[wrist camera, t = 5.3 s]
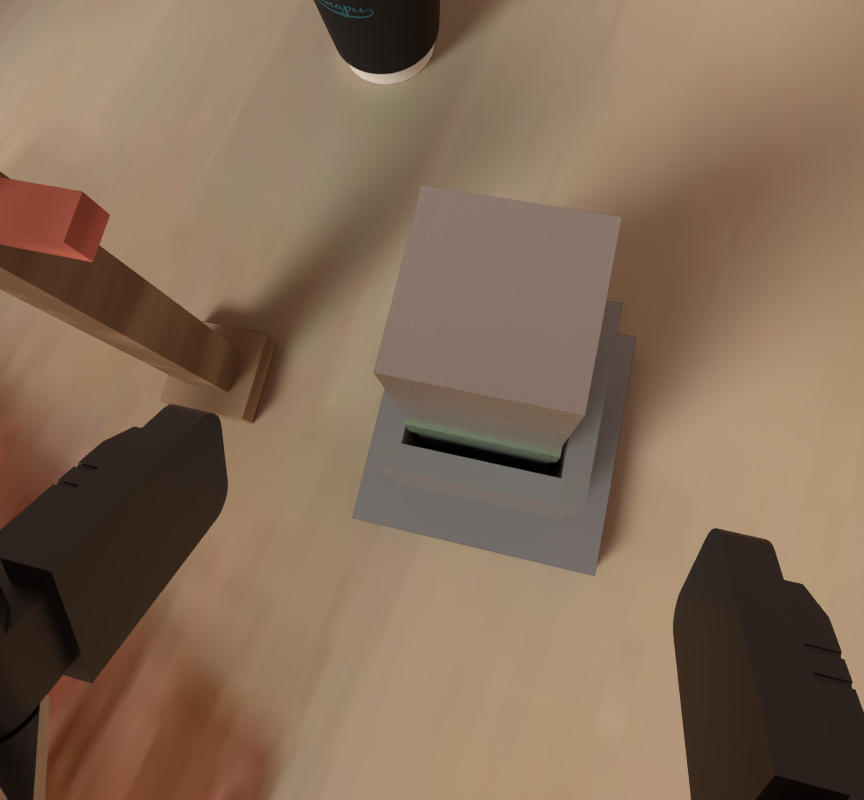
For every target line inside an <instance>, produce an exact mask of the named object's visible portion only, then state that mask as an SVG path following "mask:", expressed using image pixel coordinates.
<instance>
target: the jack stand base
mask: <svg viewBox="0 0 864 800" xmlns="http://www.w3.org/2000/svg"><path fill="white" fill-rule="evenodd" d="M621 306H622V304H620V303H615V302H609V301H606V305H605V310H604V316H603V321H602V326H601V332H600V337H599V343H598V348H597V353H596V359H595V364H594V369H593V375H592V380H591V386H590V391H589V396H588V402H587V407H586V412H585V416H584V417H583V419H582V420H581V421H580V423H579V424H578V426H577V427H576V428H575V430H574V431H573V432H572V434H571V435H570V436H569V438H568V439H567V440H566V442H565V443H564V444H563V446H562V451H561V456H560V458H559V460H558V461H557V462H556V463H554V462H550V463H549V464H548V466H547V467H546V468H545V470H544V471H543V472H542V474H538V473H534V472H529V471H525V470H520V469H516V468H511V467H506V466H502V465H497V464H493V463H488V462H484V461H479V460H474V459H470V458H465V457H461V456H456V455H452V454H447V453H442V452H438V451H433V450H429V449H428V448H427V446H426V445H425V443H424V442H423V441H422V439H421V438H420V436H419V435H418V434H417V433H415V432H410V431H409V430H408V428H407V427H406V426H405V425H404V422H405V416H404V414H403V413H402V411H401V410H400V409H399V407H398V406H397V404H396V403H395V402H394V400H393V399H392V398H391V396H390V395H389V393H388V392H387V391H386V389H385V390H384V394H383V398H382V402H381V406H380V410H379V413H378V417H377V421H376V425H375V429H374V433H373V437H372V441H371V445H370V449H369V453H368V457H367V461H366V465H365V469H364V473H363V477H362V481H361V485H360V489H359V493H358V497H357V501H356V505H355V509H354V513H353V517H352V518H354V519H358V520H362V521H367V522H371V523H375V524H379V525H383V526H388V527H392V528H396V529H400V530H404V531H408V532H413V533H417V534H421V535H425V536H429V537H434V538H438V539H442V540H446V541H450V542H454V543H459V544H463V545H467V546H471V547H475V548H480V549H484V550H488V551H492V552H496V553H500V554H505V555H509V556H513V557H517V558H521V559H526V560H530V561H534V562H538V563H542V564H546V565H551V566H555V567H559V568H563V569H567V570H572V571H576V572H580V573H584V574H588V575H592V576H595V573H596V567H597V561H598V555H599V550H600V544H601V538H602V532H603V527H604V521H605V515H606V509H607V504H608V498H609V492H610V486H611V481H612V475H613V469H614V463H615V458H616V452H617V446H618V440H619V434H620V429H621V423H622V417H623V411H624V406H625V400H626V394H627V388H628V383H629V377H630V371H631V365H632V360H633V354H634V348H635V342H636V337H632V336H627V335H621V334H617V329H618V323H619V317H620V312H621Z"/></svg>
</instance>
